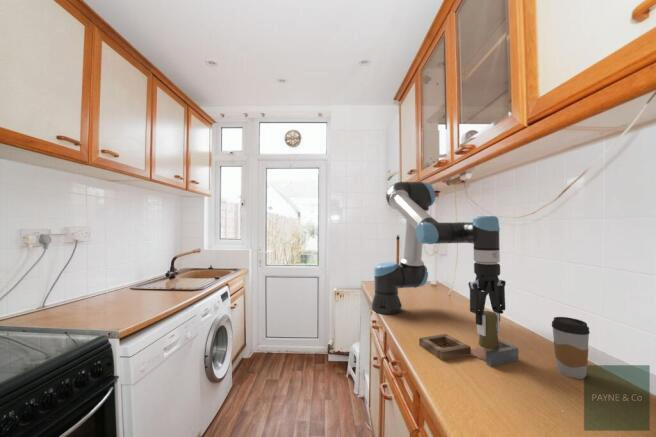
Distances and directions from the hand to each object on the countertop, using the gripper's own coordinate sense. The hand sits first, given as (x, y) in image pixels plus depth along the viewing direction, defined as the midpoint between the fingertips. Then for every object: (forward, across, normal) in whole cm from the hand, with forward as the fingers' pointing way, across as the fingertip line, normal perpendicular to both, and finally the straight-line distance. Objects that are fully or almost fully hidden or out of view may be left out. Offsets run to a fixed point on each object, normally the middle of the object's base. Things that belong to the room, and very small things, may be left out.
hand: (488, 333), depth 91 cm
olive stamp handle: (+4, 0, 0) cm, 4 cm away
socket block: (+7, -11, +8) cm, 15 cm away
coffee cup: (+8, +13, -16) cm, 22 cm away
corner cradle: (+7, 0, 0) cm, 7 cm away
